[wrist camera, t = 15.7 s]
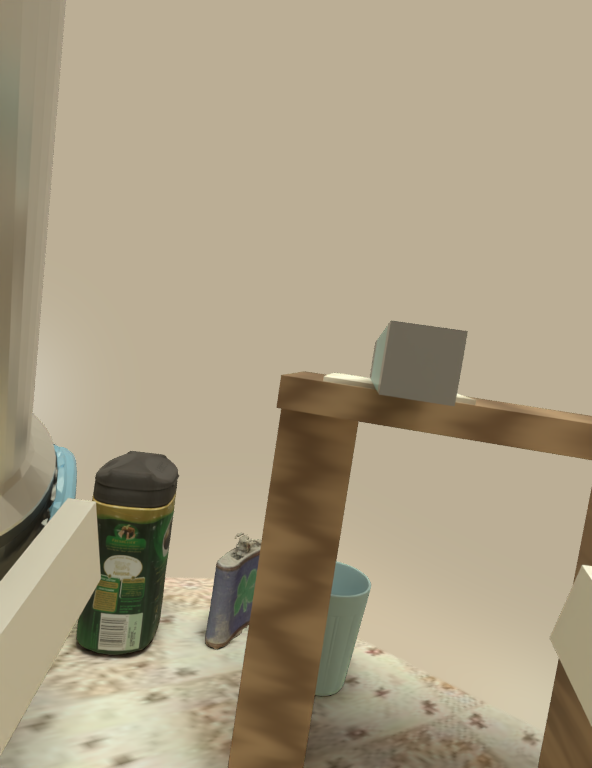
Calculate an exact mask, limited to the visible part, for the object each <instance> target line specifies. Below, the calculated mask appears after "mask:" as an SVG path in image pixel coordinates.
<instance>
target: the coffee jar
mask: <svg viewBox="0 0 592 768" xmlns="http://www.w3.org/2000/svg"><path fill="white" fill-rule="evenodd" d="M178 477H179V475H178V469H177V467H176V466H175V465H174V464H173V463H172V462H171V461H170V460H169V459H167V457H166V456H165V455H161V454H153V453H145V452H136V451H130V452H128V453H127V454H125V455H122V456H119V457H117V458H114V459H112V460H110V461H109V462H108V463H106V464H105V465H104V466H103V467H102V468H101V469H100V470H99V471H98V472H97V474H96V477H95V479H96V480H95V486H94V493H93V500H92V501H95V502H96V511H97V526H98V542H99V557H100V572H101V579H100V581H99V583H98V585H97V586H96V588H95V590H94V592H93V593H92V595H91V597H90V599H89V600H88V602H87V604H86V606H85V608H84V609H83V611H82V613H81V615H80V616H79V619H78V627H77V640H78V642H79V644H80V645H81V646H83V647H84V648H86V649H89V650H92V651H94V652H97V653H101V654H109V655H120V654H125V653H130V652H135V651H138V650H142V649H144V648H145V647H146V646H147V645H148V644H149V643H150V642H151V640H152V638H153V637H154V634H155V633H156V630H157V627H158V624H159V620H160V614H161V607H162V600H163V591H164V582H165V572H166V565H167V558H168V551H169V543H170V535H171V527H172V520H173V513H174V505H175V497H176V488H177V479H178Z"/></svg>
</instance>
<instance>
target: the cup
mask: <svg viewBox="0 0 592 768" xmlns="http://www.w3.org/2000/svg"><path fill="white" fill-rule="evenodd" d="M370 589H371V582H370V580H369V578H368V577H367V576H366V575H365V574H364V573H362V572H361V571H359V570H358V569H356V568H354V567H352V566H350V565H347V564H344V563H341V562H337V561H336V565H335V572H334V578H333V584H332V590H331V597H330V603H329V609H328V615H327V622H326V628H325V634H324V641H323V647H322V653H321V659H320V666H319V672H318V678H317V684H316V691H315V695H318V696H328V695H332V694H335V693H337V692H338V691H339V690H340V689H341V688H342V686H343V684H344V681H345V678H346V674H347V671H348V667H349V664H350V660H351V657H352V653H353V649H354V646H355V642H356V639H357V635H358V632H359V628H360V624H361V621H362V617H363V614H364V610H365V607H366V603H367V599H368V596H369V593H370Z"/></svg>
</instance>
